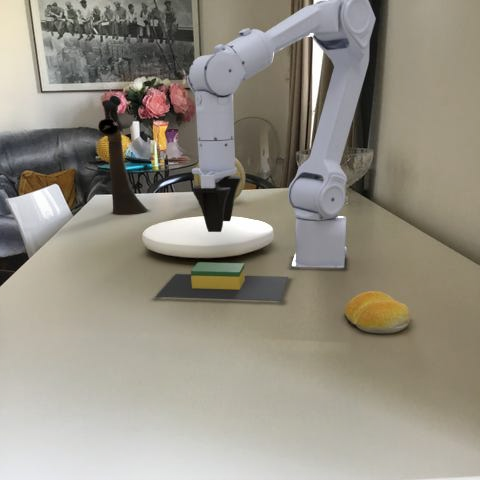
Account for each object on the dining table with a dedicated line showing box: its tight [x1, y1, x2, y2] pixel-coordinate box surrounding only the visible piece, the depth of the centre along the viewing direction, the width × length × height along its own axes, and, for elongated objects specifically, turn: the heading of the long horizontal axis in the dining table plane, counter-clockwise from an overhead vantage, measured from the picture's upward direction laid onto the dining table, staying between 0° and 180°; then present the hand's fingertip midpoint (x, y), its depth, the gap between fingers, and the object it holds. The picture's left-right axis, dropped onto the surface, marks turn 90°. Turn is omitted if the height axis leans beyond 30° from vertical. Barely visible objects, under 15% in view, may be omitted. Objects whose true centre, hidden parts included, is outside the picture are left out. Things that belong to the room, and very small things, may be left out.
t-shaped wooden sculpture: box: [97, 95, 148, 215], centre depth 151 cm, size 32×10×30 cm, turn 4°
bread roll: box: [344, 290, 411, 335], centre depth 78 cm, size 8×9×4 cm
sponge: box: [190, 261, 246, 290], centre depth 94 cm, size 8×5×3 cm, turn 80°
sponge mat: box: [155, 273, 289, 302], centre depth 94 cm, size 20×12×1 cm, turn 80°
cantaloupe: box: [193, 157, 246, 201], centre depth 161 cm, size 15×15×15 cm
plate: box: [141, 215, 275, 259], centre depth 116 cm, size 28×6×27 cm
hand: (219, 226), depth 93 cm, fingers open, 7 cm apart
